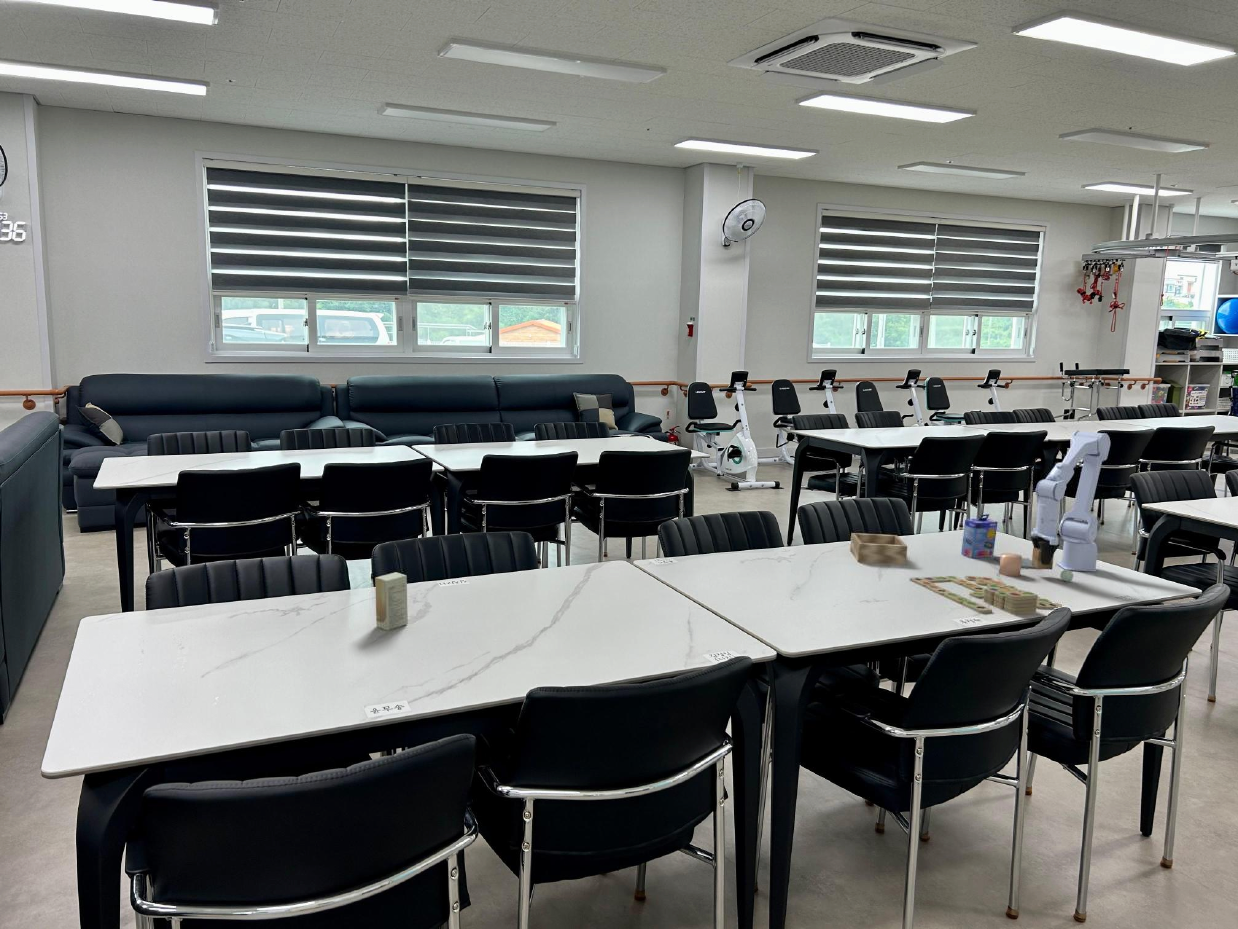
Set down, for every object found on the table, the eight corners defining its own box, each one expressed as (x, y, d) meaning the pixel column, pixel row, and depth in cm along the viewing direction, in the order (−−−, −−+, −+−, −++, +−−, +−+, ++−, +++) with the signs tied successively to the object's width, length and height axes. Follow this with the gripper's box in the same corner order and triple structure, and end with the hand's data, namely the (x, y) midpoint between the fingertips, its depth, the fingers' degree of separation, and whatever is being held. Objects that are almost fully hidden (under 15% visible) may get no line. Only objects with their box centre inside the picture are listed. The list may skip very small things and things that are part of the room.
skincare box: (397, 620, 213) (396, 571, 211) (408, 624, 210) (408, 575, 208) (374, 626, 208) (374, 576, 206) (385, 631, 205) (385, 580, 203)
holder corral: (895, 552, 295) (896, 535, 294) (905, 564, 280) (907, 546, 279) (850, 550, 296) (851, 533, 296) (857, 562, 282) (859, 543, 281)
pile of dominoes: (1070, 612, 239) (1072, 592, 238) (987, 619, 231) (989, 598, 230) (982, 576, 271) (984, 559, 271) (907, 581, 263) (908, 563, 262)
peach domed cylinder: (1016, 572, 276) (1018, 553, 275) (1022, 577, 270) (1024, 558, 269) (996, 571, 277) (998, 552, 276) (1002, 576, 271) (1004, 557, 270)
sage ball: (1069, 580, 269) (1071, 568, 268) (1074, 583, 265) (1075, 572, 265) (1057, 579, 269) (1059, 568, 269) (1062, 582, 266) (1063, 571, 265)
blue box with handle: (972, 558, 291) (976, 516, 289) (960, 554, 296) (964, 512, 294) (994, 556, 295) (999, 514, 293) (982, 552, 300) (986, 510, 298)
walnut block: (1046, 565, 273) (1048, 548, 272) (1052, 569, 269) (1054, 552, 268) (1031, 564, 274) (1033, 547, 273) (1037, 568, 269) (1038, 551, 268)
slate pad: (1028, 560, 292) (1028, 558, 291) (1040, 568, 281) (1040, 567, 281) (993, 558, 292) (993, 556, 292) (1005, 566, 282) (1005, 565, 282)
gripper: (1024, 513, 276) (1020, 555, 279) (1042, 523, 262) (1037, 567, 264) (1048, 514, 276) (1043, 556, 278) (1067, 524, 261) (1062, 569, 264)
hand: (1042, 562), depth 271 cm, fingers closed on walnut block, 4 cm apart
